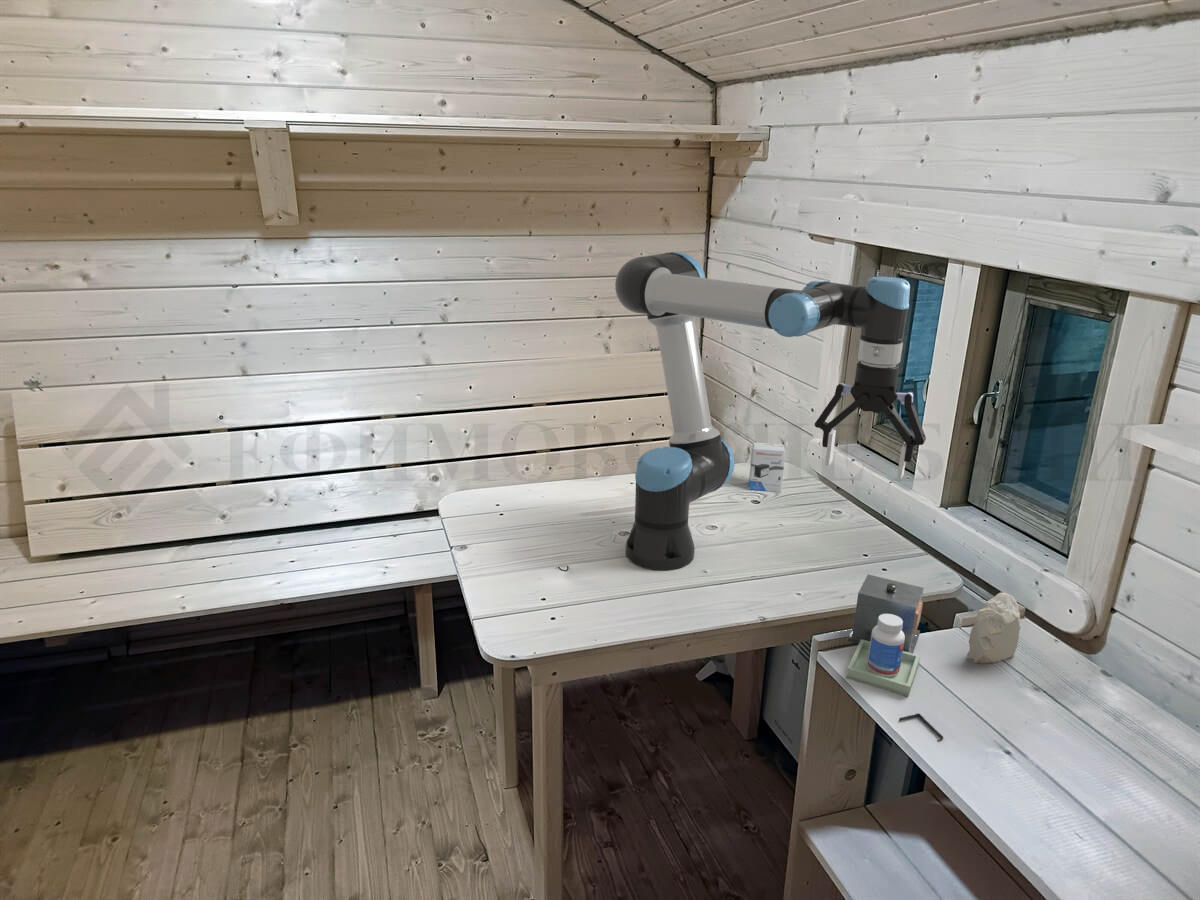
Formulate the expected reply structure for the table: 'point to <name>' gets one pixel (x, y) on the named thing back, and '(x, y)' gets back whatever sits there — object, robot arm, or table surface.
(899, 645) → the pill bottle
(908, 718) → the l-shaped bracket
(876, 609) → the unit
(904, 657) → the tray
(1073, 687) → the table surface
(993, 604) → the stone
